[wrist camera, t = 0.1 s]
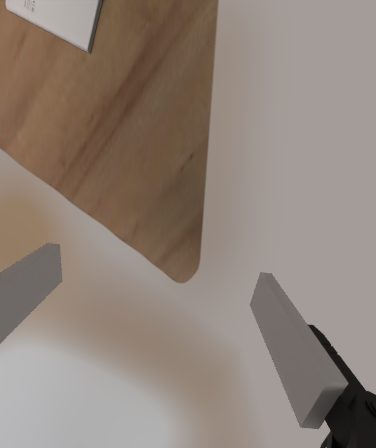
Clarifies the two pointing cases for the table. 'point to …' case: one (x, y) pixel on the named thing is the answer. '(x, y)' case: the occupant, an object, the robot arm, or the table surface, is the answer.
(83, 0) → the external hard drive
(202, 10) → the table surface
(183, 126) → the table surface
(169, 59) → the table surface
